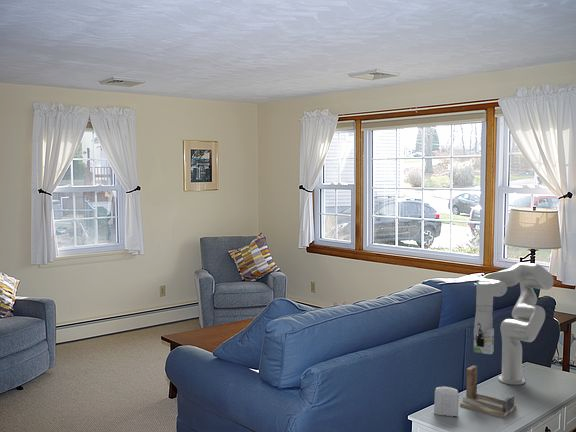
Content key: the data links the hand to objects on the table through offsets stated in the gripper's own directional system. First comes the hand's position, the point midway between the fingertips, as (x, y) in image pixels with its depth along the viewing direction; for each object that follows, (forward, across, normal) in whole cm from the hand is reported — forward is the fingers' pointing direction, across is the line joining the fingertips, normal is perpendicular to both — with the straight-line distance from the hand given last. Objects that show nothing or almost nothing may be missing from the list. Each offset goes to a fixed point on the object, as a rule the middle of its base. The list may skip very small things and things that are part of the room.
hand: (483, 344), depth 292 cm
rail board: (+24, +14, +10) cm, 29 cm away
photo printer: (+24, +35, 0) cm, 42 cm away
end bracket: (+22, +15, +2) cm, 27 cm away
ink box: (+4, 0, 0) cm, 4 cm away
